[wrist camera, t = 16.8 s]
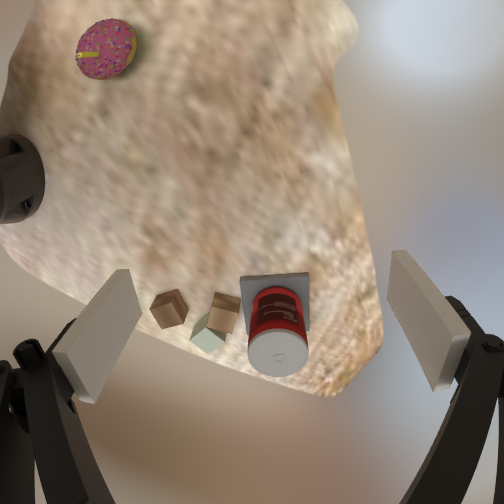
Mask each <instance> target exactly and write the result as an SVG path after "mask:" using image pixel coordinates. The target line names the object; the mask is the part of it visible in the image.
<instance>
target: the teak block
mask: <svg viewBox="0 0 504 504" xmlns="http://www.w3.org/2000/svg"><path fill="white" fill-rule="evenodd" d="M240 300H241V299H239V298H235V297H232V296H228V295H224V294H220V293H217V292H215V296H214V300H213V303H212V307H211V311H210V315H209V319H208V323H207V326H206V327H208V328H212V329H215V330H219V331H223V332H227V333H231V334H232V332H233V329H234V326H235V323H236V320H237V317H238V314H239V307H240Z"/></svg>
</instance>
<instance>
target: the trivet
mask: <svg viewBox="0 0 504 504" xmlns="http://www.w3.org/2000/svg"><path fill="white" fill-rule="evenodd" d="M240 287H241V295H242V302H243V309H244V317H245V324H246V331H247V335H249V329H250V319H251V308H252V303H253V301H254V299H255V298H256V296H257V295H258V294H259V293H260V292H261V291H263V290H264V289H267V288H270V287H283V288H287V289H289V290H291V291H292V292H293V293H295V295H296V296H297V297H298V298H299V300H300V302H301V304H302V308H303V315H304V321H305V328H306V331H309V276H308V273H294V274H280V275H265V276H249V277H240Z"/></svg>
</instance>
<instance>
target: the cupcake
mask: <svg viewBox="0 0 504 504" xmlns="http://www.w3.org/2000/svg"><path fill="white" fill-rule="evenodd" d="M77 46H78V47H77V49H76V53H77V55H76V56H75V57H77V60H76V59H75V60H76V61H77V65H78V66H79V68H80V70H81V71H82V72H83V74H84V75H86V76H87V77H90V78H92V79H96V80H107V79H110V78H112V77H114V76H116V75H118V74H120V73H121V72H122V71H123V70H124V69H125V68H126V67H127V66H128V65H129V64H130V63H131V62H132V60H133V58H134V56H135V52H136V48H137V40H136V36H135V31H134V29H133V28H132V27H131V26H130V25H129V24H128V23H127V22H125V21H122V20H118V19H107V20H102V21H100V22H96V23H95V24H94V25H93V26H91V27H90V28H89V29H87V31H86V32H85V33H84V34H83V35H82V37H81V38H80V40H79V43H78V45H77Z"/></svg>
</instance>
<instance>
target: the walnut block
mask: <svg viewBox="0 0 504 504" xmlns="http://www.w3.org/2000/svg"><path fill="white" fill-rule="evenodd" d="M188 310H189V309H188V307H187V305H186V303H185V302H184V300H183V298H182V296H181V294H180V292H179V291H178V289H177V290H173V291H170V292H167V293H164V294H160V295H157V296H156V298H155V300H154V302H153V303H152V305H151V307H150V311H151V313H152V314H153V316H154V318H155V319H156V321H157V322H158V324H159V326H160V327H161V329H165V328H169V327H173V326H177V325H180V324H184V321H185V318H186V316H187V313H188Z"/></svg>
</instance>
